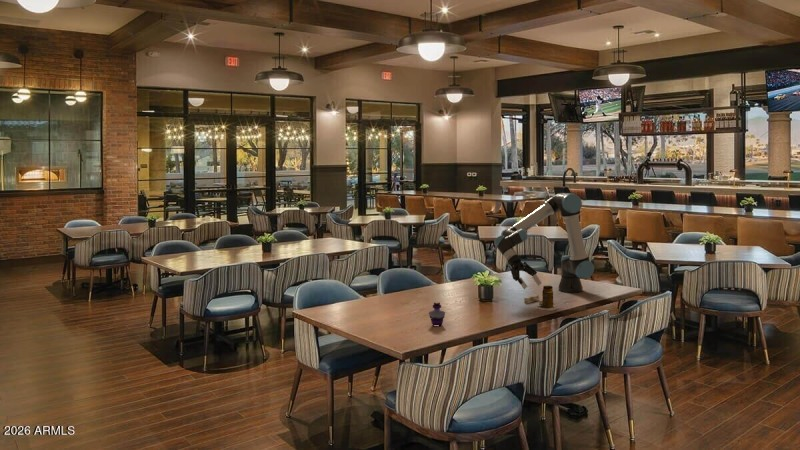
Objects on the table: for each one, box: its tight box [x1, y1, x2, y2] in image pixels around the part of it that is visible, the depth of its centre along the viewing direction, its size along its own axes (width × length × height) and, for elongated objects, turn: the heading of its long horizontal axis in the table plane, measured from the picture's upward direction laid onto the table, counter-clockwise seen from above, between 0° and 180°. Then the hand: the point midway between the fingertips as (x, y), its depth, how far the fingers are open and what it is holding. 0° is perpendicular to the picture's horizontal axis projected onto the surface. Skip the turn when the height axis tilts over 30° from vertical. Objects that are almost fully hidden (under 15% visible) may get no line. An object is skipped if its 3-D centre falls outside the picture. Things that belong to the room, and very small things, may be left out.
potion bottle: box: [428, 301, 446, 326], centre depth 330 cm, size 9×9×12 cm
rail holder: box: [523, 295, 542, 306], centre depth 376 cm, size 12×12×3 cm
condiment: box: [536, 285, 556, 309], centre depth 362 cm, size 7×8×12 cm
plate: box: [536, 304, 558, 311], centre depth 363 cm, size 11×11×1 cm
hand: (533, 286), depth 369 cm, fingers open, 13 cm apart
